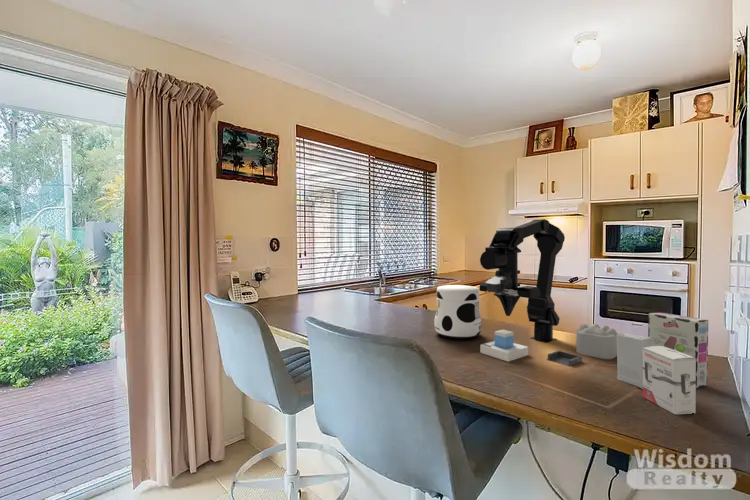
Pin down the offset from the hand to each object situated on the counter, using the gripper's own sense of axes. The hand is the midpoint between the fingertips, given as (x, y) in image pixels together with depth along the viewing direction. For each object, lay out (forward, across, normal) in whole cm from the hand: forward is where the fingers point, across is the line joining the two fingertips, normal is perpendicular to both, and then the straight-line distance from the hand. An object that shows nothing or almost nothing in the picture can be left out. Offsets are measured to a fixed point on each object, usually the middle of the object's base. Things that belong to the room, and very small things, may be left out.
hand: (508, 315), depth 115 cm
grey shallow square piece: (+12, +16, +4) cm, 20 cm away
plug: (+11, +2, -4) cm, 12 cm away
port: (+12, +2, -4) cm, 12 cm away
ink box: (+12, +43, -4) cm, 44 cm away
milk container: (+12, -22, +1) cm, 25 cm away
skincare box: (+12, +34, +3) cm, 36 cm away
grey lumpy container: (+12, +17, +21) cm, 30 cm away
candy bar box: (+12, +39, +15) cm, 43 cm away
